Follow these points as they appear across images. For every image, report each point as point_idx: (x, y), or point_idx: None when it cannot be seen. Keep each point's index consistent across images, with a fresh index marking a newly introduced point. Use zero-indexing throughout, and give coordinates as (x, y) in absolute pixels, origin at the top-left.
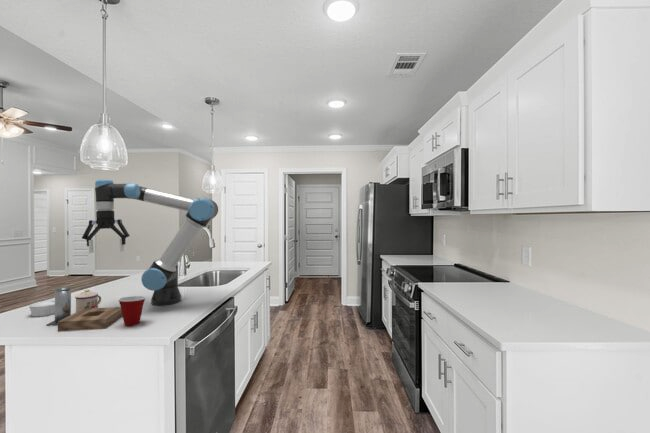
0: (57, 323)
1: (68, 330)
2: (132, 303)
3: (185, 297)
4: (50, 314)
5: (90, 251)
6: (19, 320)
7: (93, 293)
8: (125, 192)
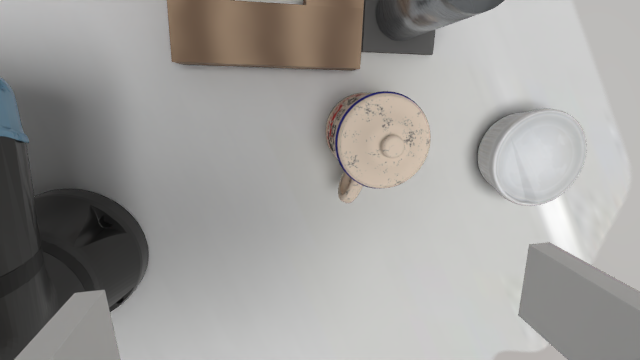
0: None
1: None
2: None
3: None
4: (487, 131)
5: (554, 255)
6: (560, 80)
7: (355, 141)
8: None
